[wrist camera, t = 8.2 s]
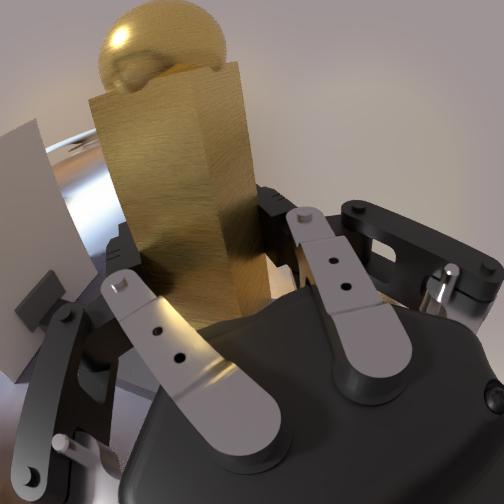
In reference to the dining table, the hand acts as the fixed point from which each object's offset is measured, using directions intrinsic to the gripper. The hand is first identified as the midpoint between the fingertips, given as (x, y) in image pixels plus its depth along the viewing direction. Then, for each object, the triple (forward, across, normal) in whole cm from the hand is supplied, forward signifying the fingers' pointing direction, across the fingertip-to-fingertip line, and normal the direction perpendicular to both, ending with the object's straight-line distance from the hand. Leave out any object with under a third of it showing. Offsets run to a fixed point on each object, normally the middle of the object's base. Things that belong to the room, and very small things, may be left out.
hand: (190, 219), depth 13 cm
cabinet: (+11, -16, -10) cm, 22 cm away
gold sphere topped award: (-1, -2, -9) cm, 9 cm away
